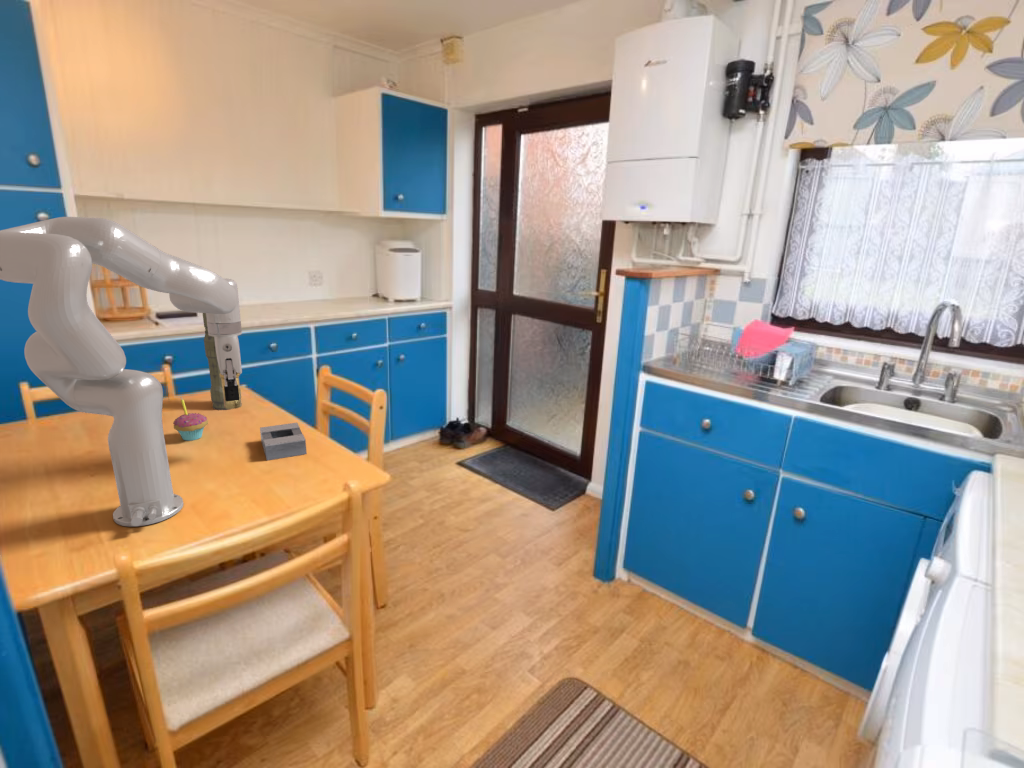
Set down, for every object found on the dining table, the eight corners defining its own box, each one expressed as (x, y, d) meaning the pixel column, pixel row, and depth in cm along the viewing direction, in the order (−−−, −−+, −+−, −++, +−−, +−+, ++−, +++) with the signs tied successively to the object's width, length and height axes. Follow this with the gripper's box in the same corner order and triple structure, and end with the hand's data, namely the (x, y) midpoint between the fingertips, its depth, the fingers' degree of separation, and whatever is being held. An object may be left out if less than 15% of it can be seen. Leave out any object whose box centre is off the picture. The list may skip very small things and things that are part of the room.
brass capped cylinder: (243, 408, 139) (240, 374, 137) (223, 410, 137) (219, 376, 135) (242, 403, 143) (238, 370, 141) (222, 405, 141) (219, 372, 138)
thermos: (239, 398, 187) (228, 298, 177) (244, 408, 178) (232, 304, 168) (211, 402, 183) (197, 300, 173) (213, 412, 173) (199, 305, 163)
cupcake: (168, 441, 151) (161, 400, 148) (192, 430, 159) (186, 392, 156) (193, 445, 149) (187, 404, 146) (216, 434, 157) (211, 395, 154)
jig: (306, 453, 146) (305, 439, 145) (266, 460, 142) (265, 445, 140) (298, 436, 158) (297, 422, 157) (261, 441, 153) (259, 427, 152)
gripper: (243, 333, 129) (250, 405, 134) (239, 322, 143) (245, 388, 148) (208, 335, 126) (216, 409, 131) (207, 323, 140) (214, 391, 145)
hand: (232, 397), depth 139 cm, fingers closed on brass capped cylinder, 4 cm apart
